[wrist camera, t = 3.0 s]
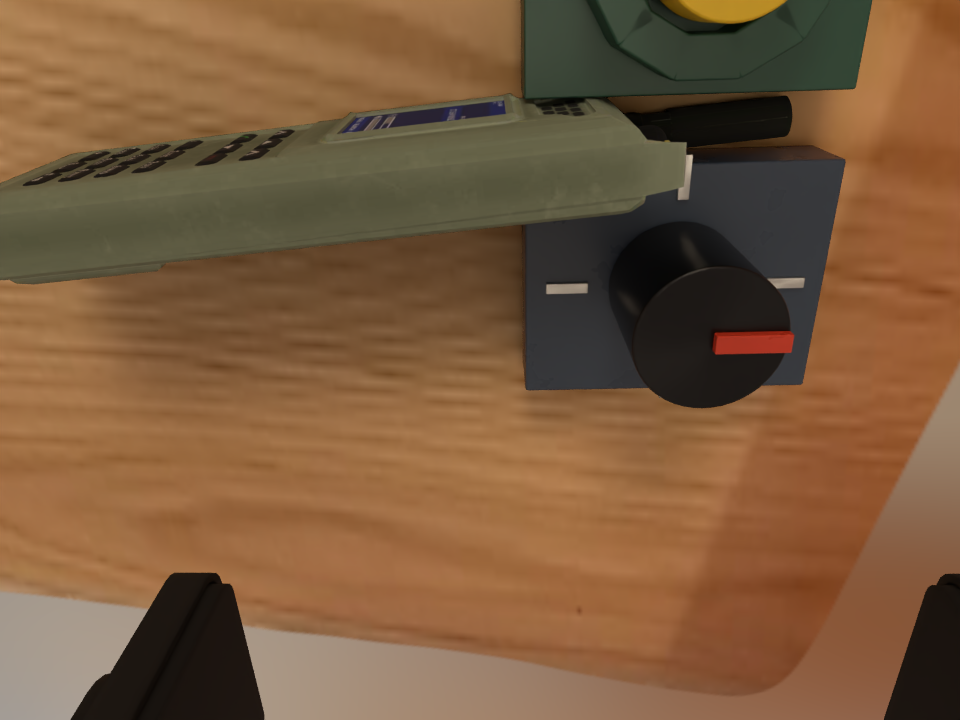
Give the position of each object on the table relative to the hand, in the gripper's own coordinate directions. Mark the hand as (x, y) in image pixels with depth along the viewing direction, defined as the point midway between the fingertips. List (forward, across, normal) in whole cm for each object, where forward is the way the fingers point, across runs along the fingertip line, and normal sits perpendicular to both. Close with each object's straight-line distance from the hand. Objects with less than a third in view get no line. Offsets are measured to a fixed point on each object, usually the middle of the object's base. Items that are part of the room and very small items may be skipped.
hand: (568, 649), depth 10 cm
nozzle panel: (+18, -5, +1) cm, 19 cm away
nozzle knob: (+16, -5, +1) cm, 16 cm away
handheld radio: (+19, +4, -4) cm, 20 cm away
